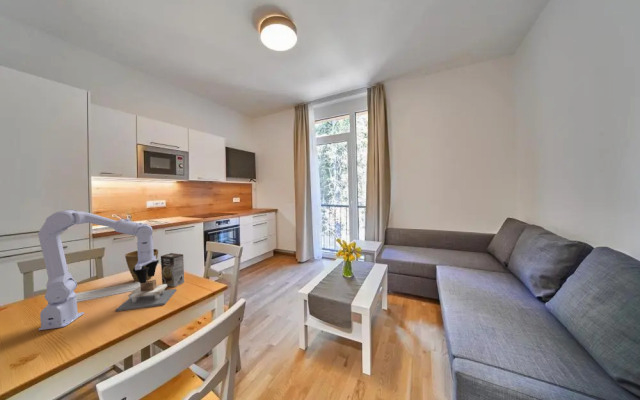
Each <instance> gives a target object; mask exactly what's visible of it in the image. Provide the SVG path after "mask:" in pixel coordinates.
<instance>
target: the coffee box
mask: <svg viewBox="0 0 640 400" xmlns="http://www.w3.org/2000/svg"><path fill="white" fill-rule="evenodd" d="M184 264H185V261H184V254H181V253H173V252H171V253H167V254H163V255H160V267H161V271H160V272H161V285H163V284H167V287H172V288H176V287H178V286H179V285H182V284H184V283H185V270H184V269H185V268H184V267H185V265H184Z"/></svg>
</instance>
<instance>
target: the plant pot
mask: <svg viewBox="0 0 640 400" xmlns="http://www.w3.org/2000/svg"><path fill="white" fill-rule="evenodd" d="M153 251H154V256H155V255H156V259H157V260H158V256H159V249H156V248H153ZM124 257H125V261H126V264H127V267H128V270H129V273H130V274H131V277H132V279H133V281H134V282H139V280H138V278H137V276H136V274H135V273H134V272H133V269H134V268H135V265H136V264H137V262H138V250H134V251H130V252H127V253H125V255H124ZM144 267H145V268H146V266H144ZM150 280H152V277H149V276H148V273H147V281H150Z"/></svg>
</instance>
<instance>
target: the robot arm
mask: <svg viewBox="0 0 640 400" xmlns="http://www.w3.org/2000/svg"><path fill="white" fill-rule="evenodd" d="M82 224H93V225H99V226H103V227H108V228H112V229H114V231H115V232H116V233H120V234H126V235H131V236H136V237H137V242H136V245H137V246H136V247H137V248H136V249H137V251H138V262H137V264H136V265H135V268H134V269H133V272H134V273H135V274H136V276H137V278H138V280H139V282H140V284H141V283H146V280H147V273H148V276H149V277H151V278H153V277H155V274H156V269H157V266H158V264H159V261H160V260H159V259H158V258H157V259H156V255H155V256H154V251H153V249H154V239H153V227H152V226H151V225H149V224H147V223H142V222H136V221H135V222H134V221H132V220H130V218H125V219H124V218H121V219H119V220H116V219H112V218H108V217H104V216H102V215H98V214H95V213H90V212H88V211H87V212H86V211H81V210H78V211H77V210H76V209H64V210H62V211H61V210H60V211H56V212H54V213H52V214H50V215H49V216H48V217H46V218H45V222H44V223H43V225H42V226H41V228H40V230H39V231H38V233H37V236H38V239H39V245H40V248H41V251H42V253H41V254H42V256H43V261H44V266H45V269H46V274H47V277H48V280H47V283H46V292H45V294H44V300H46V301H47V302H48V303H47V305H46V306H45V307H44V308H42V310H41V311H40V314H39V315H40V316H39V317H40V318H39V319H40V327H39V328H38V331H44V330H52V329H58V328H65V327H67V326H68V325H70V324H71V323H73V322H74V321H75V320H77V319H78V318H80V317H81V316H83V315H84V314H85V312H84V311H83V312H78V302H77V298H76V293H77V292H75V290H76V289H77V287H78V283H77V281H76V279H74V278H73V275H72V273H70V272H69V269H68V264H67V260H66V255H65V251H64V247H63V242H62V237H61V234H62V233H63V232H65V231H66V230H68V228H70V227H72V226H74V225H82ZM144 266H146V268H145V267H144ZM147 281H148V280H147Z"/></svg>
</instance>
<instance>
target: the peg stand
mask: <svg viewBox="0 0 640 400" xmlns="http://www.w3.org/2000/svg"><path fill="white" fill-rule="evenodd" d="M176 292H177V288H172V289H164V290H163V291H162V292H161V293H160V294H156V295H147V296H139V297H131V298H129V297H128V298H127V300H125V301H124V302H123V303H121V304H120V305H119V306H118V307H117V308H115V312H121V311H128V310H138V309H143V308H151V307H159V306H164V305H166V304H167V303H168V301H170V300H171V298H172V297H173V296H174V294H175V293H176Z"/></svg>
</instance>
